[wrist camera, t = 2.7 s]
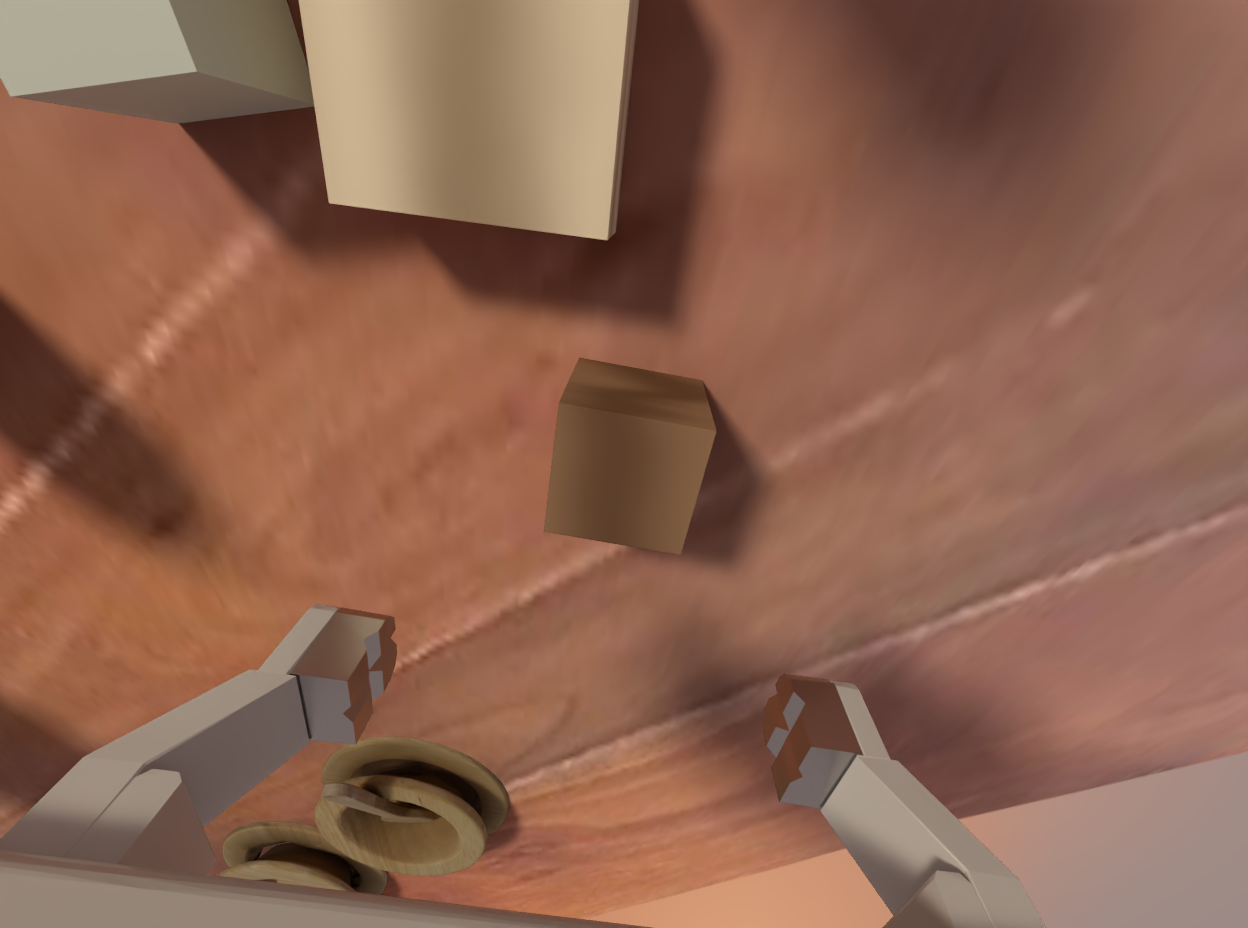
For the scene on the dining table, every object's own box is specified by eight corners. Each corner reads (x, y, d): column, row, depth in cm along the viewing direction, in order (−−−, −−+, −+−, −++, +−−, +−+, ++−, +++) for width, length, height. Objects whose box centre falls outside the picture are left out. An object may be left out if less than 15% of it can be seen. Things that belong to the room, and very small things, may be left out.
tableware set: (374, 915, 48) (340, 1004, 42) (172, 832, 42) (103, 923, 36) (579, 804, 36) (566, 905, 31) (343, 669, 31) (279, 766, 25)
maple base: (647, -81, 14) (645, -176, 10) (616, 231, 18) (607, 239, 14) (363, -121, 14) (264, -229, 10) (393, 201, 18) (328, 203, 14)
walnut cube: (702, 379, 20) (716, 431, 16) (674, 484, 22) (680, 554, 18) (579, 356, 20) (559, 402, 15) (564, 465, 22) (543, 531, 18)
